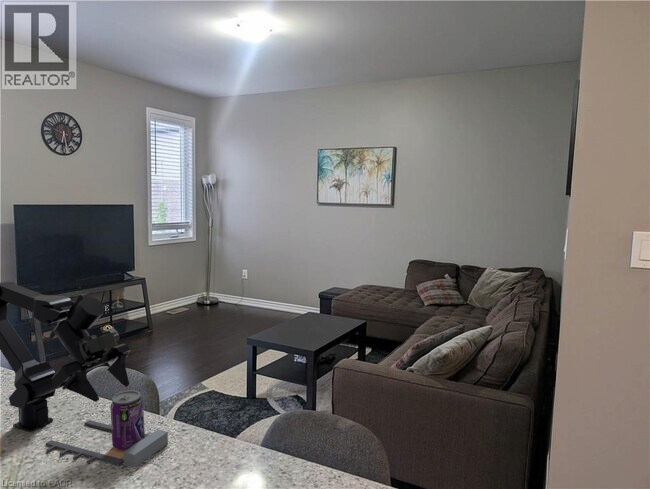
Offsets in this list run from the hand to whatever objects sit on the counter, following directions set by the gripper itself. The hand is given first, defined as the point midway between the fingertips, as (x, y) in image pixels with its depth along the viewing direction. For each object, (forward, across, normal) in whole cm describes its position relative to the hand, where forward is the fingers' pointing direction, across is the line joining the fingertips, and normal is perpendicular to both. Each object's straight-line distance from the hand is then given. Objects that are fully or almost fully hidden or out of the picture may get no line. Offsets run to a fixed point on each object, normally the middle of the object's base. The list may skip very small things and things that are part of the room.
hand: (113, 392), depth 108 cm
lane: (+8, -1, +10) cm, 13 cm away
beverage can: (+11, +1, +7) cm, 13 cm away
